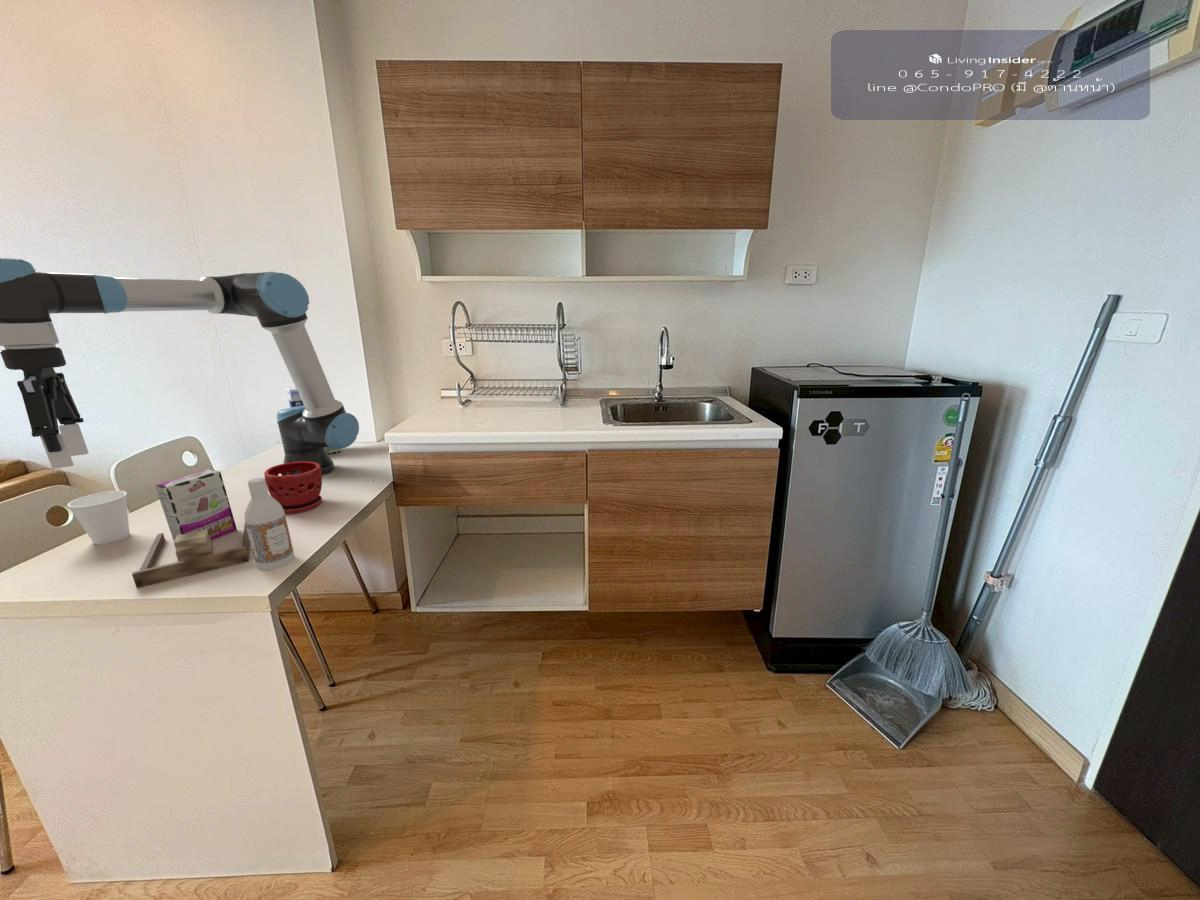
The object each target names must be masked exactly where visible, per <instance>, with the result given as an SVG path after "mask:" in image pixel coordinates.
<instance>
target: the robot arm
mask: <svg viewBox="0 0 1200 900" xmlns="http://www.w3.org/2000/svg"><path fill="white" fill-rule="evenodd" d="M309 305H310V296H309V294H308V292H307V290H306V288H305V287H304V285H303V284H302V283H301V282H300V281H299V280H298V279H297V278H295V277H293V276H292V275H290V274H288V273H283V272H275V271H266V272H265V271H264V272H251V273H250V272H249V273H248V272H246V273H237V274H230V275H223V276H221V275H220V276H202V277H201V278H199V279H169V278H165V279H163V278H139V277H138V278H132V277H128V278H127V277H114V276H111V275H104V274H103V275H102V274H96V273H91V274H89V273H65V272H64V273H63V272H62V273H61V272H43V271H37V270H36V268H35V267H34V266H33V264H32V262H31V261H28V260H26V259H18V258H10V257H9V258H8V257H0V347H3V348H2V349H0V356H1V358H2V360H3V364H4V366H5V368H6V369H8V370H12V371H22V372H23V378H24V379H23V380H17V381H16V385H17V387H18V388H19V390H20V394H21V397H22V400H23V403H24V407H25V410H26V414H27V417H28V418H27V419H28V421H29V425H30V428H31V432H30V433H31V434H30V435H31V436H32V437H33V438H37V437H40V440H41V442H42V445H43V448H44V450H45V453H46V455H47V459H48V461H49V464H50V466H51V468H52V469H53V470H54V469H60V468H68V467H74V465H75V464H74V462H73V459H72V457H74V456H83V455H88V454H89V451H88V447H87V444H86V442H85V438H84V436H83V433H82V431H81V427H80V425H79V423H84V422H85V421H84V418H83V417H81V414H80V412H79V410H78V407H77V405H76V403H75V401H74V398H73V396H72V394H71V392H70V389H69V388H68V384H67V383H66V378H65V375H64V373H63V372H56V370H55V368H61V367H64V366H66V365H67V362H66V358H65V355H64V353H63V351H62V348H60V346H57V344H59V343H60V340H59V337H58V334H57V332H56V328H55V327H54V323H53V320H52V318H51V315H52V314H53V315H54V314H106V315H107V314H109V313H110V314H111V313H113V314H115V313H121V312H122V313H123V312H124V313H125V312H126V313H127V312H165V311H166V312H167V311H168V312H169V311H170V312H172V311H174V312H175V311H176V312H177V311H178V312H179V311H208V313H210V314H214V315H217V314H225V315H226V314H227V315H236V316H237V315H238V316H245V317H246V316H247V317H255V318H256V317H257V319H258V322H259V324H260V326H261V328H262V329H264V330H265V331H266V330H267V331H268V332H270V333H271V335H272V337H273V340H274V342H275V344H276V347H277V349H278V351H279V353H280V356H281V357H282V360H283V363H284V364H285V366H286V368H287V371H288V374H289V375H290V377H291V379H292V382H293V384H294V386H295V387H296V389H297V391H298V393H299V395H300V397H301V400H302V402H303V404H304V405H303V406H297V407H292V408H290V407H287V408H284V409H280V410H279V411H277V413H276V421H277V425H278V429H279V434H280V439H281V444H282V447H283V451H284V459H283V463H282V464H285V463H291V462H315V463H318V464H319V465H320V467H321V472H322V477H323V476H326V475H328V474H331V473H332V472H334V471H335V464H334V461H333V459H331V456H330V455H329V454H328V453H327V451H326V449H325V447H328V448H331V449H337V448H338V449H340V450H341V449H346V448H348V447H350V446H351V445H352V444H354V443H355V442H356V440H357V437H358V435H359V431H360V424H359V421H358V418H357V417H356V416H355V415H354V414H352V413H350V412H347V411H346V409H345V406H344V404H343V402H342V401H340V400H337V399H335V396H334V394H333V391H332V389H331V387H330V384H329V382H328V379H327V377H326V374H325V372H324V370H323V367H322V365H321V362H320V360H319V357H318V355H317V352H316V351H315V348H314V346H313V342H312V340H311V338H310V335H309V333H308V330H307V329H306V326H305V325H306V322H307V321H308V316H307V311H308V310H309ZM58 424H60V425H58ZM289 474H290V472H287V473H286V475H289ZM296 474H301V472H300V471H299V470H294V471H293V475H296Z"/></svg>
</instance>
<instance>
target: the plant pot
mask: <svg viewBox="0 0 1200 900" xmlns="http://www.w3.org/2000/svg"><path fill="white" fill-rule="evenodd" d="M294 470H299V471H300V472H301V474H296V475H293V471H294ZM287 472H290V474H289V475H286V473H287ZM279 474H280V475H279ZM263 475H264V479H265V481H266V486H267V490H268V494H269V495H270V496H271V497H273V498H274V499H275V500H276V501H278V502H279V503H280V505H281V506H282V508H283V510H284V512H285V515H292V514H300V513H303V512H308V511H311V510H313V509H315V508H317V507H318V506H319V505H320V504H321V503H322V501H323V497H322V496H321V495H320V494H321V491H322V487H323V476H322V472H321V467H320V465H319V464H318V463H315V462H291V463H285V464H283V463H281V464H277V465H273V466H271V467H269V468H267V469H266V470H265V471H264V473H263Z"/></svg>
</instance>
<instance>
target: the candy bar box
mask: <svg viewBox="0 0 1200 900" xmlns="http://www.w3.org/2000/svg"><path fill="white" fill-rule="evenodd" d="M224 483H225V482H224V480H223V476H222V472H221V471H220V470H216V469H211V468H210V469H205V470H200V471H198V472H194V473H192V474H188V475H184V476H180V477H178V478H175V479H171V480H168V481H165V482H164V481H163V482H161V483H158V484H155V485H154V487H155V490H156V493H157V496H158V498H159V501H160V504H161V507H162V510H163V511H162V512H163V513H164V517H165V519H166V522H167V525H168V528H169V531H170V533H171V538H172V540H173V542H174V541H175V539H176V537H177V535H181V534H186V533H191V532H196V531H201V530H206V529H207V531H208V535H209V536H210V539H211V541H214V540H217V539H218V538H221V537H223V536H227V535H228V534H231V533H233V532H235V531H238V529H237V524H236V521H235V518H234V515H233V512H232V511H233V510H232V508H231V504H230V501H229V497H228V494H227V490H226V487H225V484H224Z"/></svg>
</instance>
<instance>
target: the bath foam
mask: <svg viewBox="0 0 1200 900" xmlns="http://www.w3.org/2000/svg"><path fill="white" fill-rule="evenodd" d="M247 485H248V486H247V487H248V489H249V493H250V500H249V502H248V503H247V506H246V508H245V511H244V525H245V524H246V528H247V532H248V536H249V540H250V548H251V550H252V555H253V559H254V563H255V566H256V569H257V570H259V571H266V572H267V571H274V570H278V569H281V568H284V567H286V566H288V565H290V564H291V563H294V561H295V559H296V557H295V553H294V548H293V543H292V539H291V535H290V529H289V526H288V521H287V517H286V514H285V512H284V510H283V508H282V506H281V505H280V503H279V502H278V501H276V500H275V499H274V498H273V497H271V495H270V493H269V491H268V488H267V485H266V481H265V477H256V478H255V477H254V478H251V479H248V480H247Z"/></svg>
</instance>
